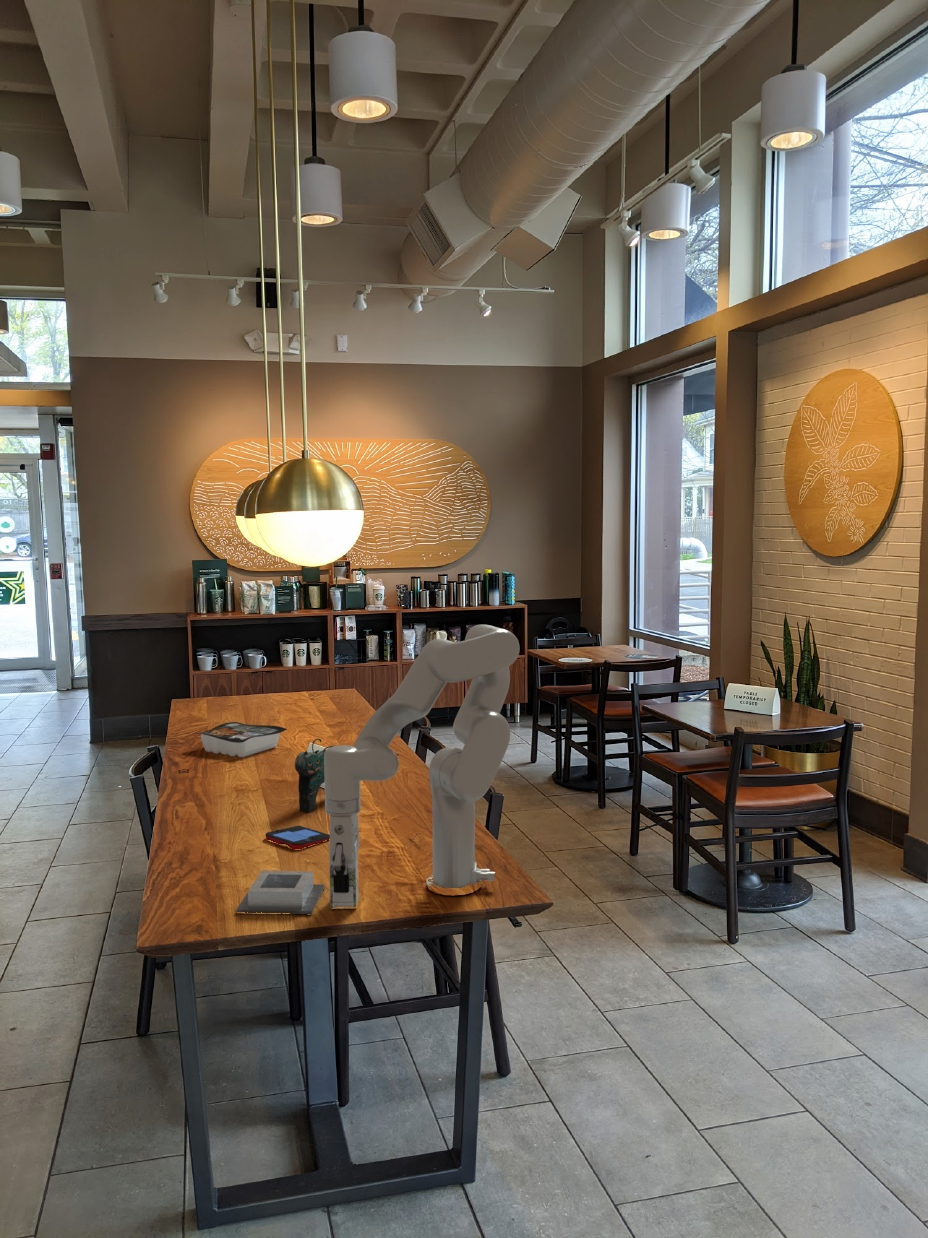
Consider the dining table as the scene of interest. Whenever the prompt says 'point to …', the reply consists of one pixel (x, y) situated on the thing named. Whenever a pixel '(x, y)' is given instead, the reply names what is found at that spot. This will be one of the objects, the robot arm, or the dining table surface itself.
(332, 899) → the syrup box
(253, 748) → the food packaging
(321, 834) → the game console
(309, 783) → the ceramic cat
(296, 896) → the grey holder base
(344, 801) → the robot arm
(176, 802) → the dining table surface
